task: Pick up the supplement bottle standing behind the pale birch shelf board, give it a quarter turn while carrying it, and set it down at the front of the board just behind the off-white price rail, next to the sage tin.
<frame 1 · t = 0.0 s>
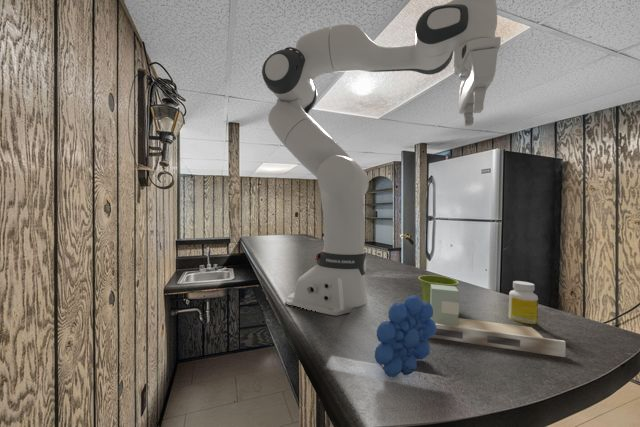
hand: (473, 119, 66), 48 cm above the countertop, tool pointing down, fingers open, 8 cm apart
grapes: (401, 371, 44), on the countertop
sage tin: (443, 325, 58), point 1 cm above the countertop, touching shelf board
plant pot: (437, 314, 70), on the countertop
supplement bottle: (522, 326, 63), on the countertop
shelf board: (480, 338, 56), on the countertop
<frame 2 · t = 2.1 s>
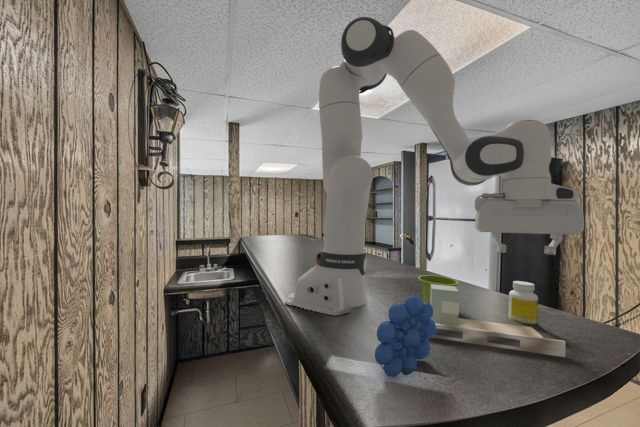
hand: (525, 253, 63), 17 cm above the countertop, tool pointing down, fingers open, 8 cm apart
nothing on the countertop moved.
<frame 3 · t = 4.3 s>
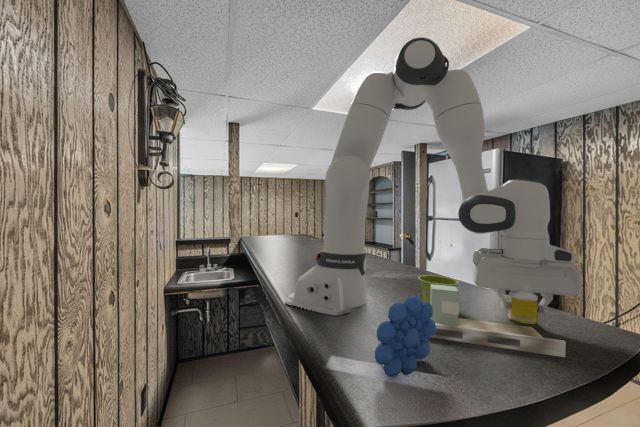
hand: (522, 310, 63), 3 cm above the countertop, tool pointing down, fingers closed on supplement bottle, 5 cm apart
supplement bottle: (522, 326, 63), on the countertop, touching gripper
everything else where it was.
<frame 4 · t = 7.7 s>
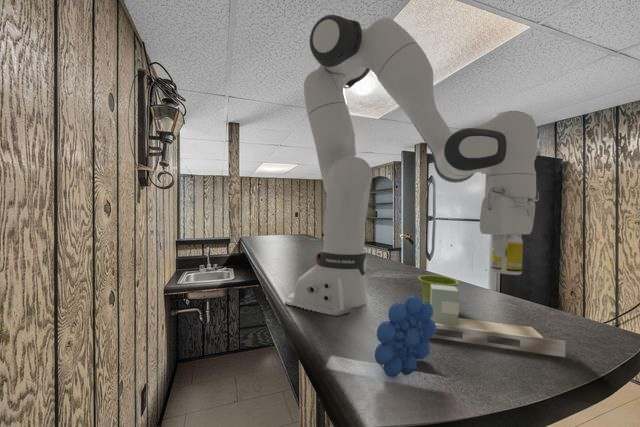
hand: (506, 255, 58), 17 cm above the countertop, tool pointing down, fingers closed on supplement bottle, 5 cm apart
supplement bottle: (505, 273, 58), point 13 cm above the countertop, touching gripper
everything else where it was.
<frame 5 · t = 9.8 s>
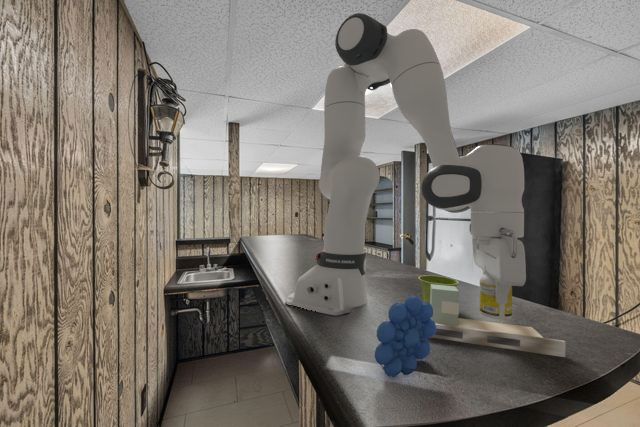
hand: (495, 297, 54), 9 cm above the countertop, tool pointing down, fingers closed on supplement bottle, 5 cm apart
supplement bottle: (495, 316, 54), point 5 cm above the countertop, touching gripper
everything else where it was.
when the fingers open (6 cm above the countertop, at t = 11.2 s): supplement bottle drops 1 cm, resting on shelf board.
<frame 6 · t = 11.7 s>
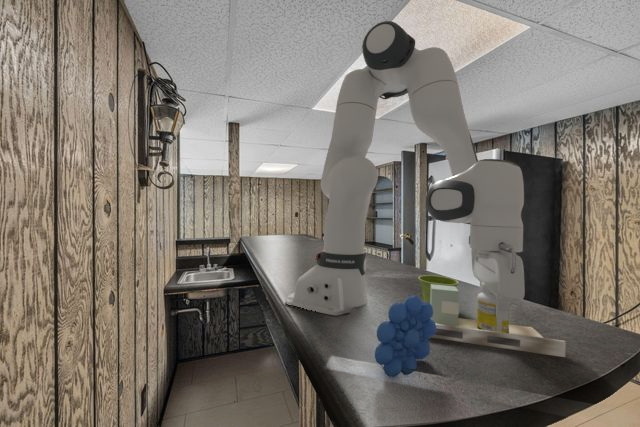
hand: (493, 310, 55), 6 cm above the countertop, tool pointing down, fingers open, 8 cm apart
supplement bottle: (492, 334, 55), point 1 cm above the countertop, touching shelf board
everything else where it was.
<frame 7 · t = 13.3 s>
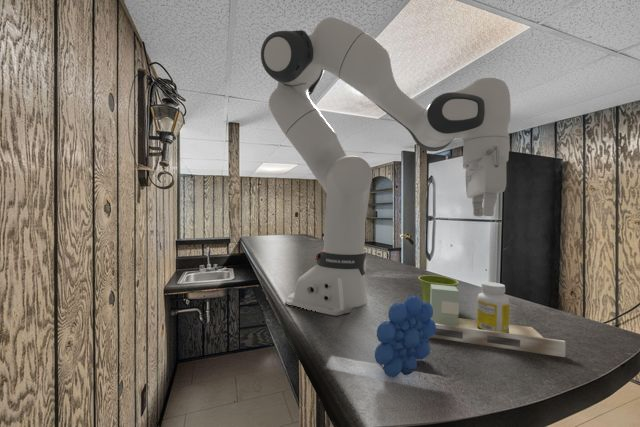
hand: (482, 216, 62), 25 cm above the countertop, tool pointing down, fingers open, 8 cm apart
nothing on the countertop moved.
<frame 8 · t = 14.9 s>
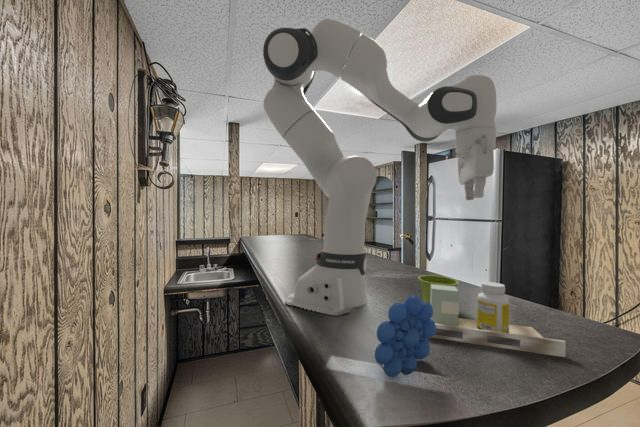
hand: (473, 199, 69), 29 cm above the countertop, tool pointing down, fingers open, 8 cm apart
nothing on the countertop moved.
at the end: supplement bottle inside the target area (0.3 cm from its centre), point 1.3 cm above the countertop; supplement bottle tilted 0°; the gripper is holding nothing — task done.
